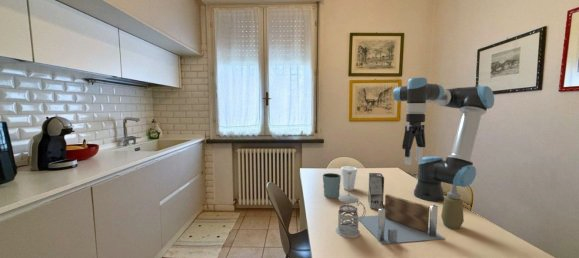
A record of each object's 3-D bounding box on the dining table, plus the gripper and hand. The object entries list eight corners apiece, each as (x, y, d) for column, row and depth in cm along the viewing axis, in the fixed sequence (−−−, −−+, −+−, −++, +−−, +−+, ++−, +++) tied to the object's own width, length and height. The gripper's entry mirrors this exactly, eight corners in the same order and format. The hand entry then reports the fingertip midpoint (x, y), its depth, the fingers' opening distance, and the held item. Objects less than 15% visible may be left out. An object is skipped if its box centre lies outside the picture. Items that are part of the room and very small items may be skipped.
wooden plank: (428, 231, 99) (430, 206, 98) (426, 232, 98) (428, 207, 97) (386, 215, 113) (387, 194, 112) (384, 216, 112) (385, 195, 111)
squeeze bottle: (436, 223, 107) (438, 183, 106) (448, 220, 110) (450, 181, 109) (455, 232, 100) (457, 189, 98) (467, 228, 103) (470, 186, 101)
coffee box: (383, 209, 122) (384, 177, 121) (369, 208, 123) (370, 176, 122) (380, 202, 131) (381, 173, 130) (367, 201, 132) (368, 172, 131)
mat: (407, 213, 117) (407, 213, 117) (445, 239, 94) (445, 238, 94) (355, 217, 113) (356, 216, 113) (382, 244, 90) (382, 243, 90)
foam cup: (357, 191, 150) (358, 170, 149) (342, 190, 150) (343, 169, 149) (354, 186, 159) (354, 166, 158) (339, 186, 159) (340, 166, 158)
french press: (333, 225, 105) (334, 167, 103) (361, 226, 105) (362, 168, 103) (337, 237, 95) (338, 174, 93) (367, 238, 95) (369, 174, 93)
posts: (433, 233, 98) (434, 204, 97) (440, 238, 94) (442, 208, 94) (376, 238, 94) (377, 208, 93) (381, 243, 91) (382, 212, 90)
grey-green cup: (344, 196, 140) (344, 176, 139) (331, 200, 134) (331, 178, 133) (331, 191, 148) (331, 172, 147) (318, 194, 142) (319, 174, 142)
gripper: (418, 112, 119) (416, 158, 121) (394, 113, 105) (392, 164, 107) (435, 113, 113) (432, 160, 115) (412, 113, 99) (410, 167, 101)
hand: (413, 162), depth 111 cm, fingers open, 10 cm apart
